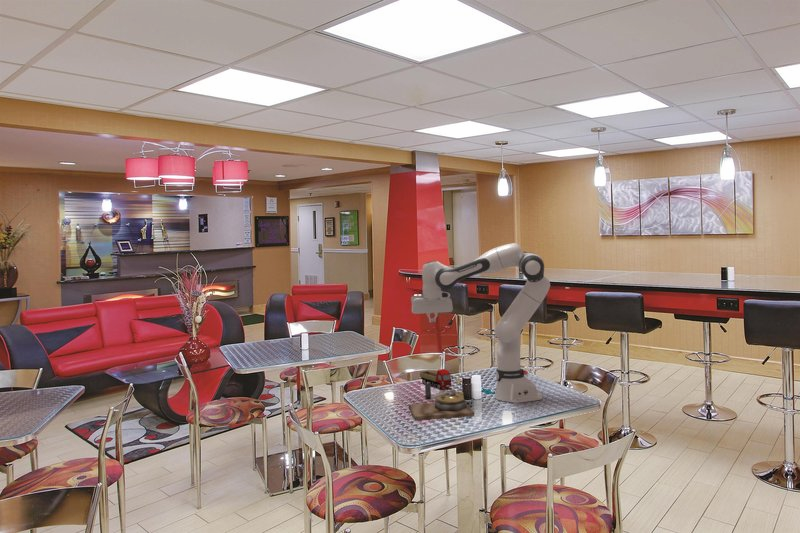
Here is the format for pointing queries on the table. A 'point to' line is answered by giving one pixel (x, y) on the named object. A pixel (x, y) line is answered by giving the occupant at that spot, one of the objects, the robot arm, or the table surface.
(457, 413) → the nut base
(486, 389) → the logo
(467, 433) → the table surface
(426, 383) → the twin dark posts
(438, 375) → the toy truck
